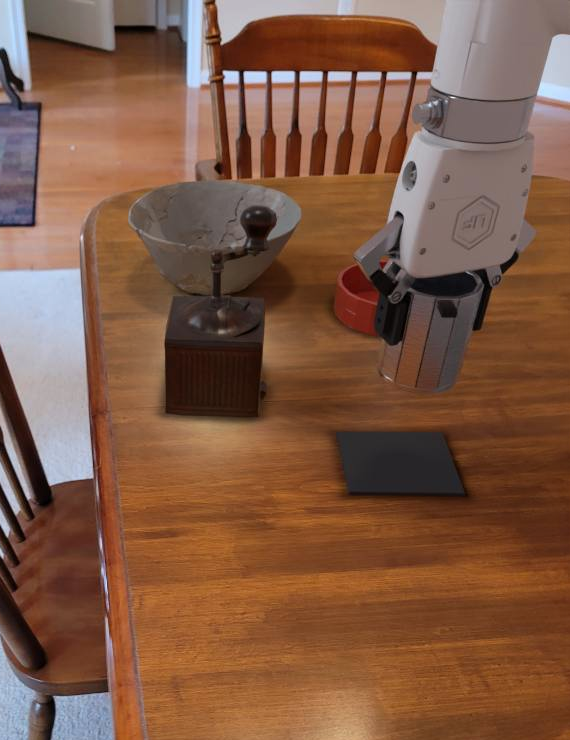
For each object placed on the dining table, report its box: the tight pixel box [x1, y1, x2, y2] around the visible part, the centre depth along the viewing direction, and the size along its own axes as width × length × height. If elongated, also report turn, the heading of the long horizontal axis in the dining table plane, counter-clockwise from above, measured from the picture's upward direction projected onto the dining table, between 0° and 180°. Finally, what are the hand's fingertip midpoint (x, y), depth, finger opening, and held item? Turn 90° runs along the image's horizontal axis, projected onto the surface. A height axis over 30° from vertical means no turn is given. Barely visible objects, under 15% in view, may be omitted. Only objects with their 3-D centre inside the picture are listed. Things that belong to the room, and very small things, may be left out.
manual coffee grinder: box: [163, 205, 277, 419], centre depth 90 cm, size 16×11×18 cm
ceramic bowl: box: [127, 179, 302, 296], centre depth 111 cm, size 22×23×10 cm
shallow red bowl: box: [333, 259, 389, 337], centre depth 106 cm, size 13×13×4 cm
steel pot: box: [377, 268, 484, 394], centre depth 73 cm, size 7×10×9 cm
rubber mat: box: [335, 430, 466, 497], centre depth 84 cm, size 11×10×1 cm
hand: (427, 329), depth 74 cm, fingers closed on steel pot, 7 cm apart
